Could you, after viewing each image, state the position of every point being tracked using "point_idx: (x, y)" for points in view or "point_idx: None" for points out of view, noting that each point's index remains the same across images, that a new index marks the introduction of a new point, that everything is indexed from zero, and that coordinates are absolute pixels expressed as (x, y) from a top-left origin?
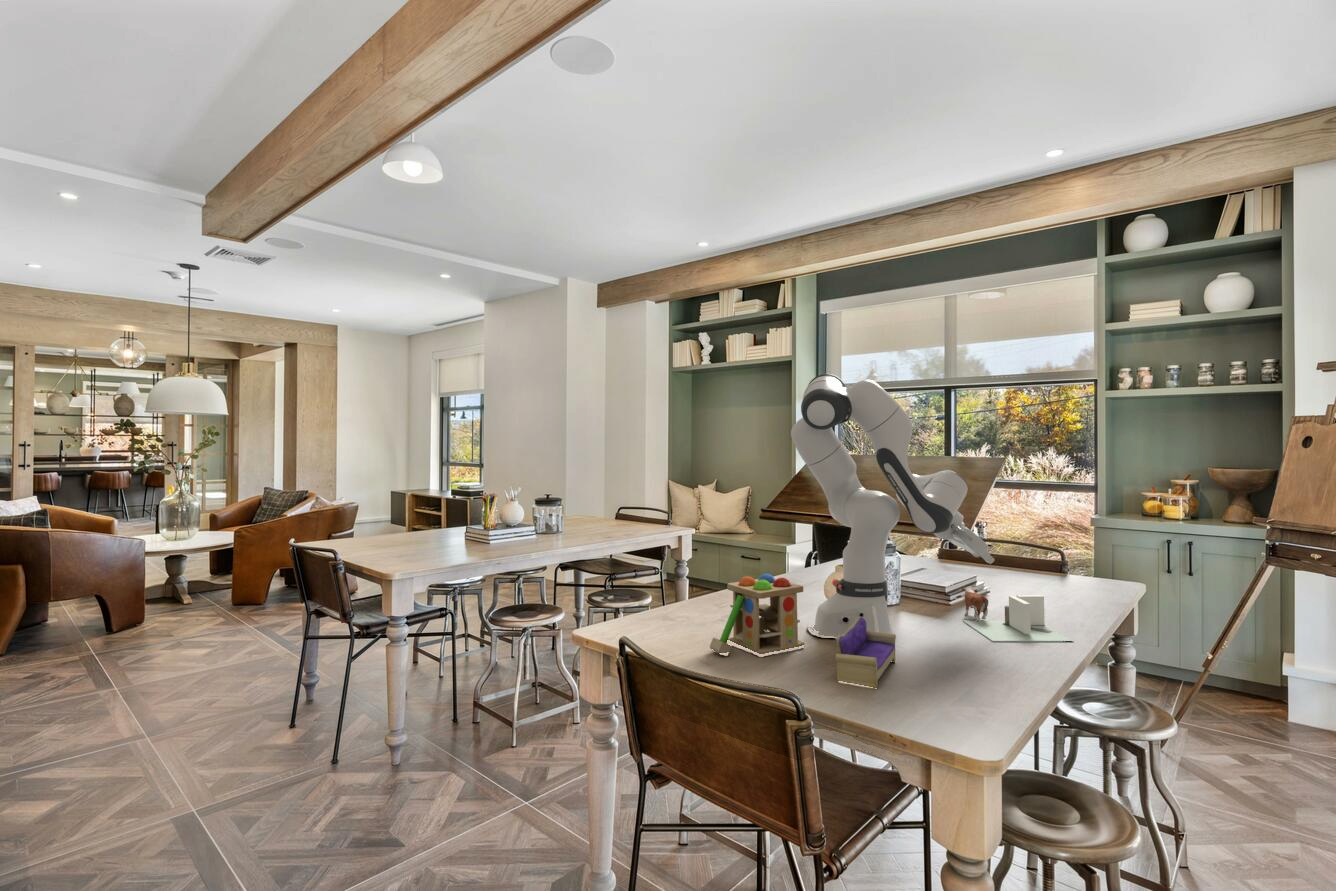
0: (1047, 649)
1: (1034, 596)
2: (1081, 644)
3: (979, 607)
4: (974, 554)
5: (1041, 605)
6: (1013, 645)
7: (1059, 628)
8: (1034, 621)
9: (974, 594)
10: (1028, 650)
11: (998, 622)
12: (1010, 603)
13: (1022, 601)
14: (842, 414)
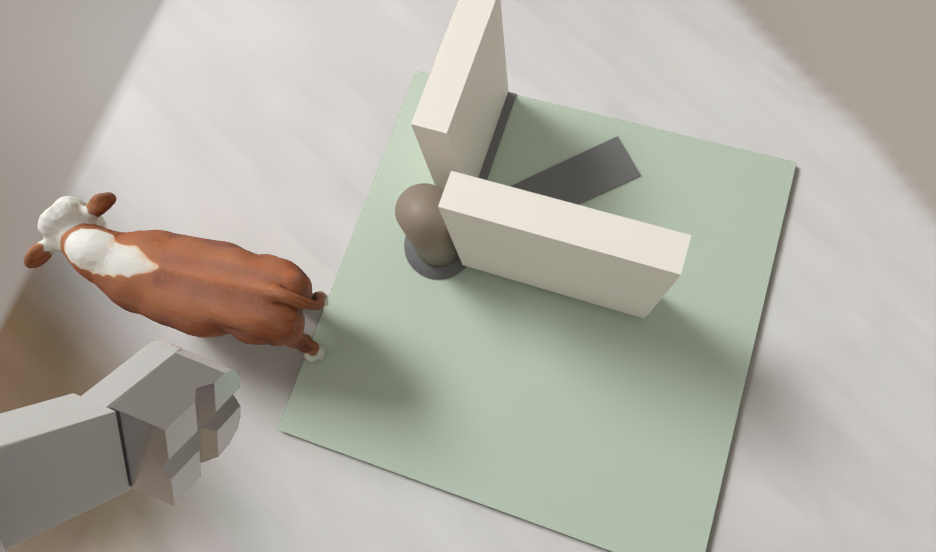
0: (891, 389)
1: (481, 42)
2: (838, 160)
3: (299, 339)
4: (192, 474)
5: (497, 41)
6: (783, 513)
7: (559, 56)
8: (491, 127)
9: (183, 289)
10: (892, 505)
11: (381, 269)
12: (468, 229)
13: (614, 235)
14: None
